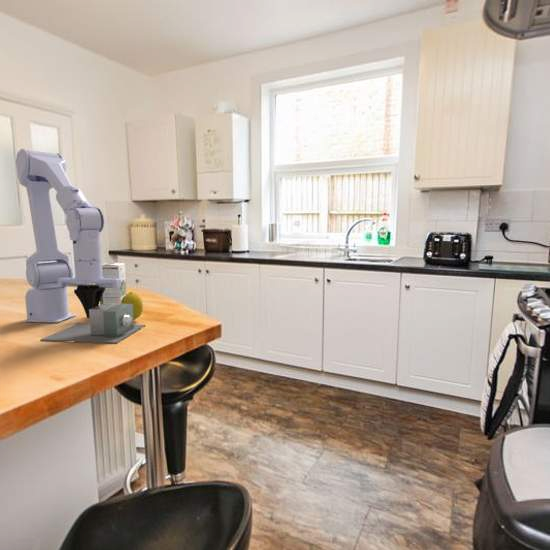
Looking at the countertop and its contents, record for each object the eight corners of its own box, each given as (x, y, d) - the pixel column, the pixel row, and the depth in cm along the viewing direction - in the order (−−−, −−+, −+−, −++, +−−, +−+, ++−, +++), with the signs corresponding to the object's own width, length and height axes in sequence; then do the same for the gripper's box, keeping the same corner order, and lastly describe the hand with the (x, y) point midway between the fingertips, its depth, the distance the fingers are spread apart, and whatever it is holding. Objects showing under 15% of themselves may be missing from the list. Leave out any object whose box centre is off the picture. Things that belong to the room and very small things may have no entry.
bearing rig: (86, 338, 87) (84, 310, 86) (105, 328, 95) (103, 303, 94) (121, 339, 86) (119, 311, 85) (138, 329, 94) (136, 303, 93)
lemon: (136, 324, 98) (134, 294, 97) (116, 323, 99) (115, 293, 98) (147, 319, 103) (146, 290, 102) (129, 318, 105) (127, 289, 103)
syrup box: (107, 311, 113) (104, 262, 111) (127, 310, 113) (125, 262, 111) (100, 316, 107) (96, 264, 105) (121, 315, 108) (118, 264, 106)
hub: (90, 334, 88) (88, 309, 87) (105, 327, 94) (103, 303, 93) (107, 335, 87) (105, 309, 87) (120, 328, 93) (119, 304, 92)
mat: (40, 340, 85) (40, 339, 85) (79, 324, 99) (79, 322, 99) (116, 343, 83) (116, 342, 83) (145, 326, 97) (145, 324, 97)
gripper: (46, 261, 85) (52, 320, 87) (108, 262, 84) (111, 322, 86) (67, 258, 92) (71, 313, 94) (124, 259, 91) (127, 314, 93)
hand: (91, 316), depth 90 cm, fingers closed
